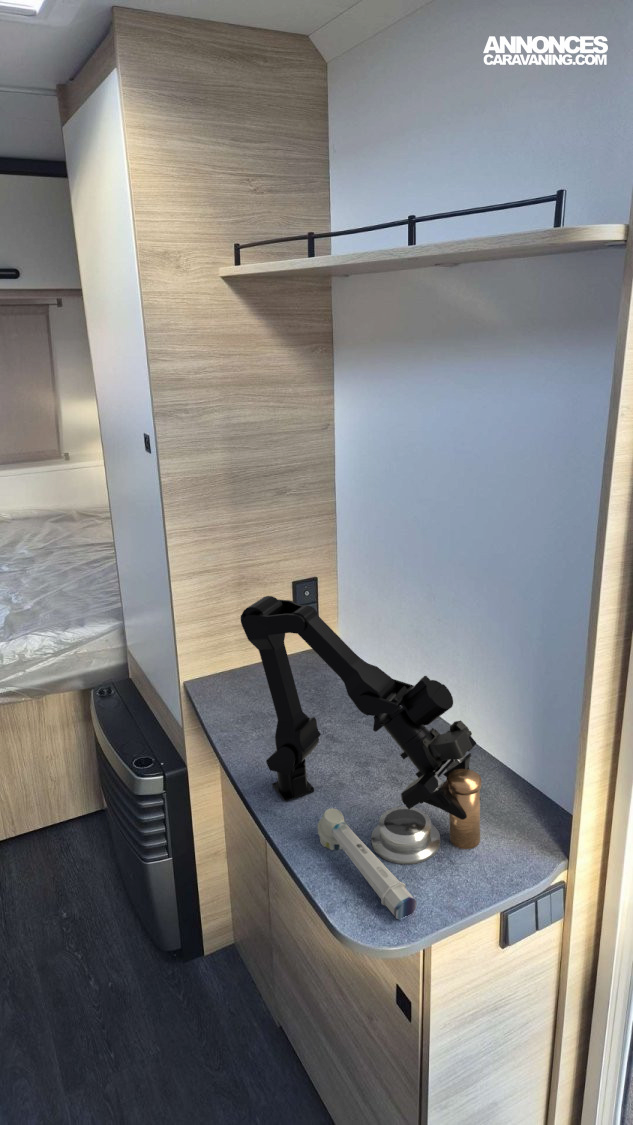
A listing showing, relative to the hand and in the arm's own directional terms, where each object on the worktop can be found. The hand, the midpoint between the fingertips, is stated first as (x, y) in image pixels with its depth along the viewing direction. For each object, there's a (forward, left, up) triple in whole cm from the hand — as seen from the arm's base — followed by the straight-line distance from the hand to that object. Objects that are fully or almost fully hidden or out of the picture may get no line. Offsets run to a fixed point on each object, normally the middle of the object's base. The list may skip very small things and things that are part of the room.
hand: (471, 809), depth 135 cm
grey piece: (-3, -20, -7) cm, 21 cm away
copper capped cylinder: (-1, -1, -7) cm, 7 cm away
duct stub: (-6, -10, -7) cm, 13 cm away
